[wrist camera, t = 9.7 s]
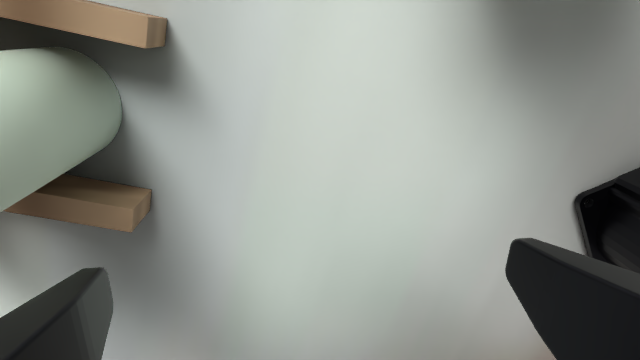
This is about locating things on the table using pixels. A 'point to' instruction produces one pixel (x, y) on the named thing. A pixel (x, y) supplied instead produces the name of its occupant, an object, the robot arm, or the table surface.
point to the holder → (73, 191)
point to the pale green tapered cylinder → (51, 116)
